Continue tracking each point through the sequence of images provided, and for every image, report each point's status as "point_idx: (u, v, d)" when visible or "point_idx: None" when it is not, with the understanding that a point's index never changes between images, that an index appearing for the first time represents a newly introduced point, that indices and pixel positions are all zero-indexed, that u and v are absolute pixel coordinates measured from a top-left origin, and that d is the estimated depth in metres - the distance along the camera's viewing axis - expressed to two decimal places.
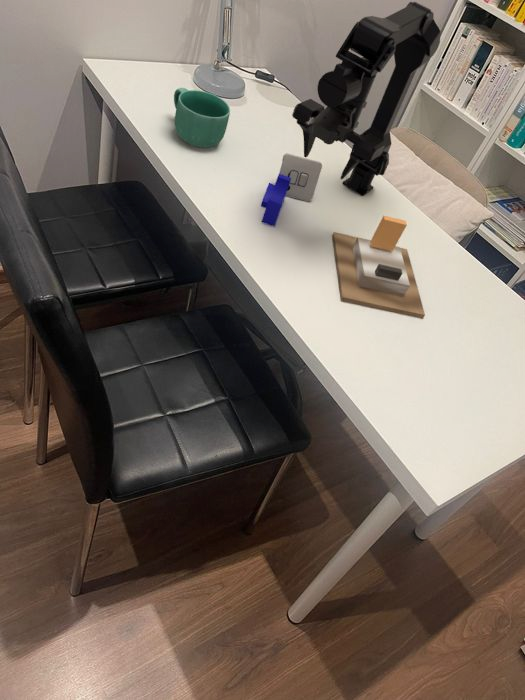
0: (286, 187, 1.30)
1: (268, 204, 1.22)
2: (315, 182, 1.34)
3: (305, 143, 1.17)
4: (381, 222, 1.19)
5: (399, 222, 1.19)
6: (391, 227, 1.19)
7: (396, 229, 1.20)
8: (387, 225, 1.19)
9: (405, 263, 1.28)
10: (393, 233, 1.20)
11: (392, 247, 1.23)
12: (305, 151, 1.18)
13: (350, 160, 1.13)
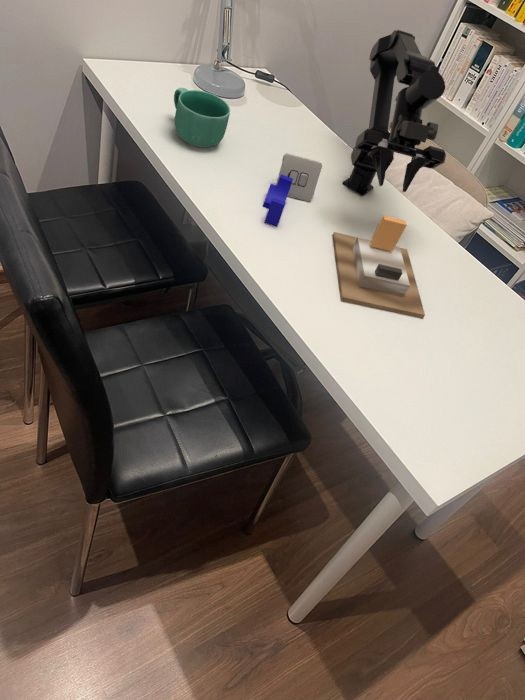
0: (288, 188, 1.30)
1: (271, 205, 1.23)
2: (315, 182, 1.34)
3: (383, 169, 1.22)
4: (381, 222, 1.19)
5: (399, 222, 1.19)
6: (391, 227, 1.19)
7: (396, 229, 1.20)
8: (387, 225, 1.19)
9: (405, 263, 1.28)
10: (393, 233, 1.20)
11: (392, 247, 1.23)
12: (383, 178, 1.22)
13: (414, 167, 1.22)
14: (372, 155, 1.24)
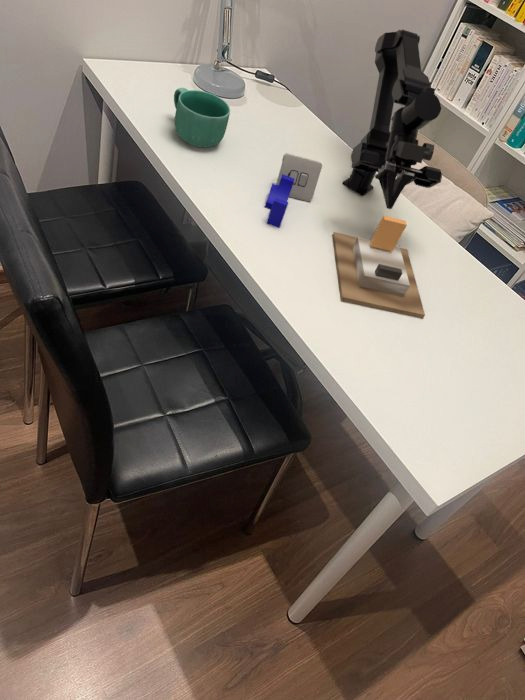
0: (290, 188, 1.30)
1: (273, 205, 1.23)
2: (315, 182, 1.34)
3: (390, 192, 1.22)
4: (381, 222, 1.19)
5: (399, 222, 1.19)
6: (391, 227, 1.19)
7: (396, 229, 1.20)
8: (387, 225, 1.19)
9: (405, 263, 1.28)
10: (393, 233, 1.20)
11: (392, 247, 1.23)
12: (390, 201, 1.22)
13: (400, 184, 1.22)
14: (379, 178, 1.25)
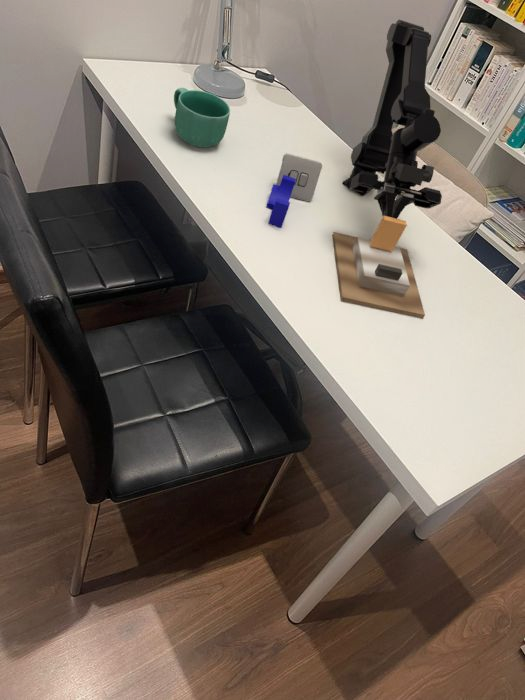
0: (291, 188, 1.30)
1: (275, 206, 1.23)
2: (315, 182, 1.34)
3: (389, 214, 1.20)
4: (381, 222, 1.19)
5: (399, 222, 1.19)
6: (391, 227, 1.19)
7: (396, 229, 1.19)
8: (387, 225, 1.19)
9: (405, 263, 1.28)
10: (393, 233, 1.20)
11: (392, 247, 1.23)
12: None
13: (399, 206, 1.20)
14: (378, 199, 1.23)
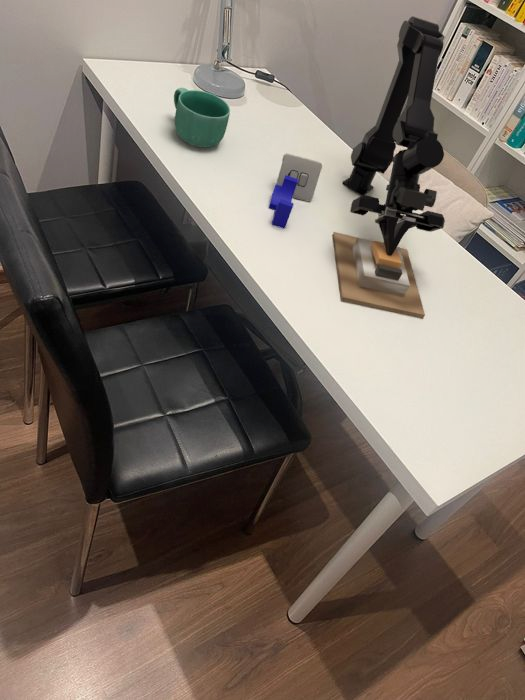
0: (293, 188, 1.31)
1: (279, 207, 1.23)
2: (315, 182, 1.34)
3: (390, 238, 1.17)
4: (376, 257, 1.18)
5: (392, 266, 1.18)
6: None
7: None
8: None
9: (405, 263, 1.28)
10: None
11: None
12: (390, 247, 1.17)
13: (401, 230, 1.17)
14: (379, 222, 1.20)
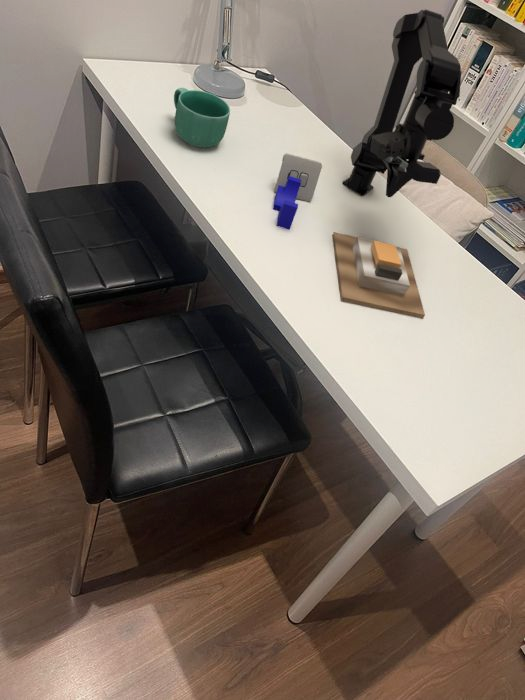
0: (297, 189, 1.31)
1: (284, 208, 1.23)
2: (315, 182, 1.34)
3: (387, 181, 1.23)
4: (376, 258, 1.18)
5: None
6: None
7: None
8: None
9: (405, 263, 1.28)
10: None
11: None
12: (387, 189, 1.24)
13: (394, 175, 1.21)
14: None
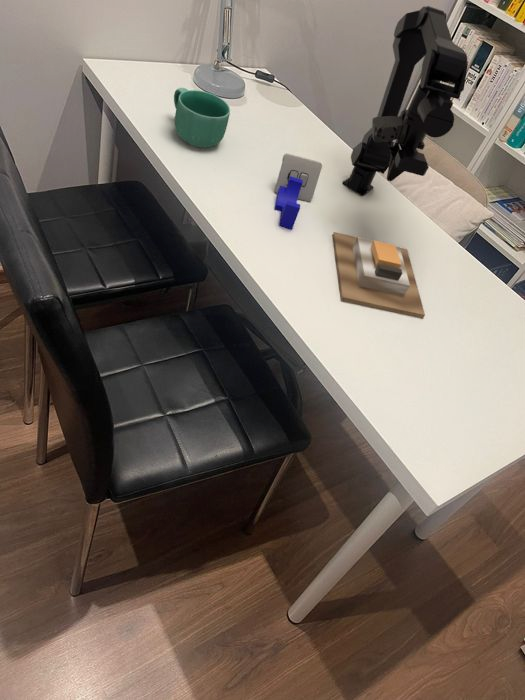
0: (298, 189, 1.31)
1: (286, 209, 1.23)
2: (315, 182, 1.34)
3: (389, 164, 1.25)
4: (376, 258, 1.18)
5: None
6: None
7: None
8: None
9: (405, 263, 1.28)
10: None
11: None
12: (387, 173, 1.26)
13: (393, 160, 1.22)
14: None
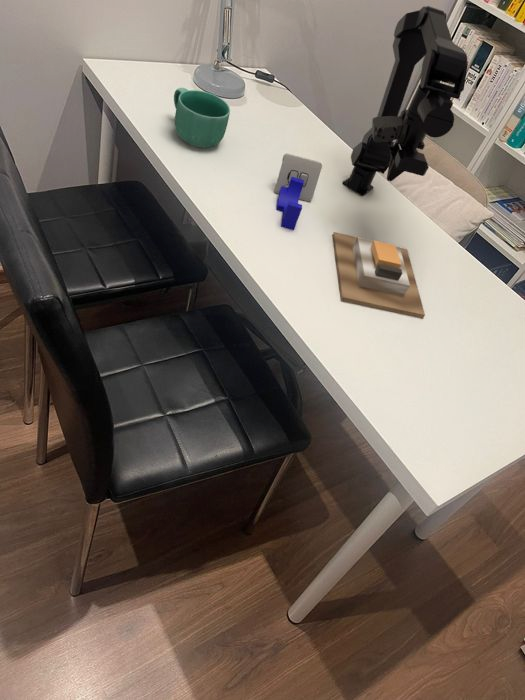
0: (300, 189, 1.31)
1: (288, 209, 1.23)
2: (315, 182, 1.34)
3: (389, 164, 1.25)
4: (376, 258, 1.18)
5: None
6: None
7: None
8: None
9: (405, 263, 1.28)
10: None
11: None
12: (387, 173, 1.26)
13: (393, 160, 1.22)
14: None
